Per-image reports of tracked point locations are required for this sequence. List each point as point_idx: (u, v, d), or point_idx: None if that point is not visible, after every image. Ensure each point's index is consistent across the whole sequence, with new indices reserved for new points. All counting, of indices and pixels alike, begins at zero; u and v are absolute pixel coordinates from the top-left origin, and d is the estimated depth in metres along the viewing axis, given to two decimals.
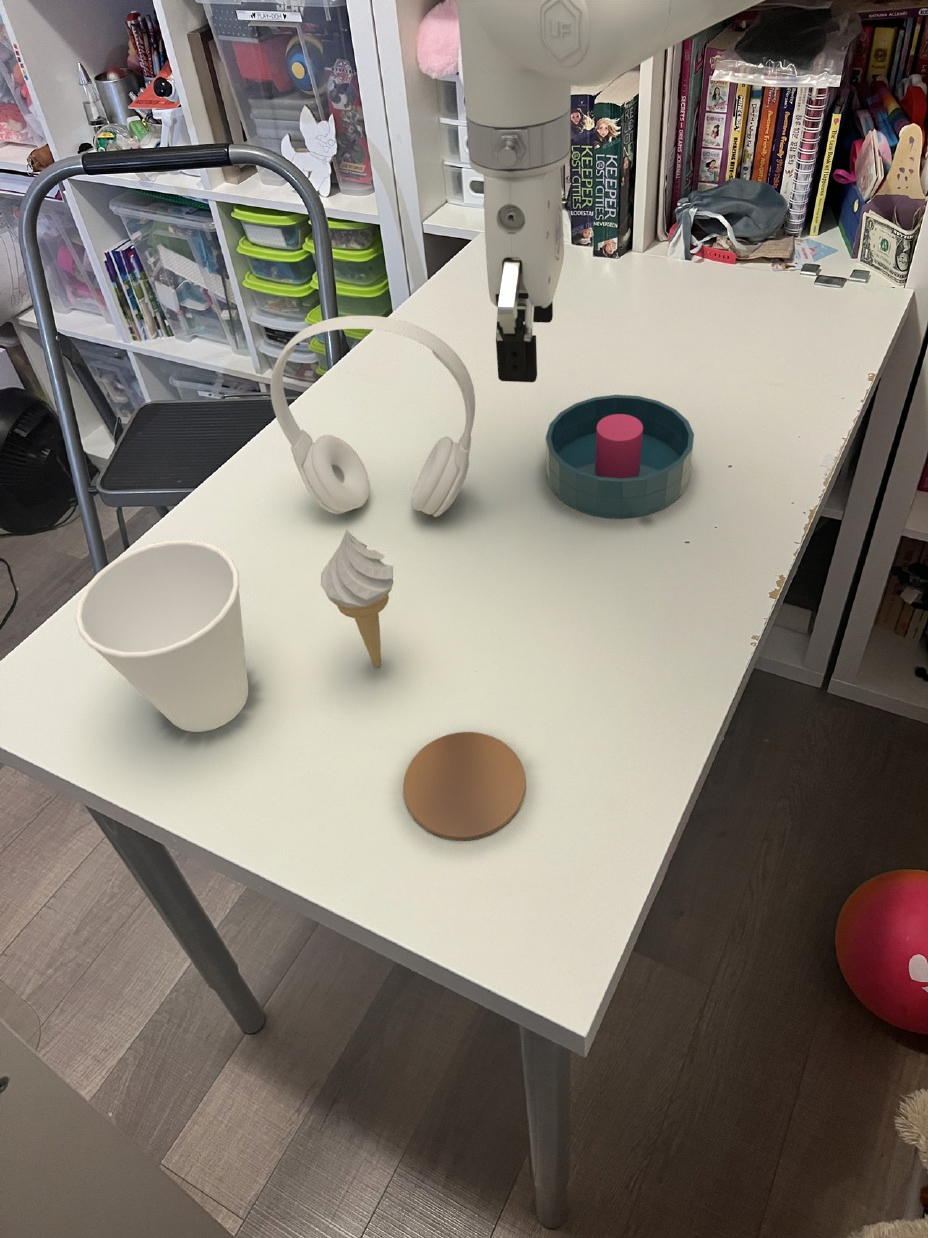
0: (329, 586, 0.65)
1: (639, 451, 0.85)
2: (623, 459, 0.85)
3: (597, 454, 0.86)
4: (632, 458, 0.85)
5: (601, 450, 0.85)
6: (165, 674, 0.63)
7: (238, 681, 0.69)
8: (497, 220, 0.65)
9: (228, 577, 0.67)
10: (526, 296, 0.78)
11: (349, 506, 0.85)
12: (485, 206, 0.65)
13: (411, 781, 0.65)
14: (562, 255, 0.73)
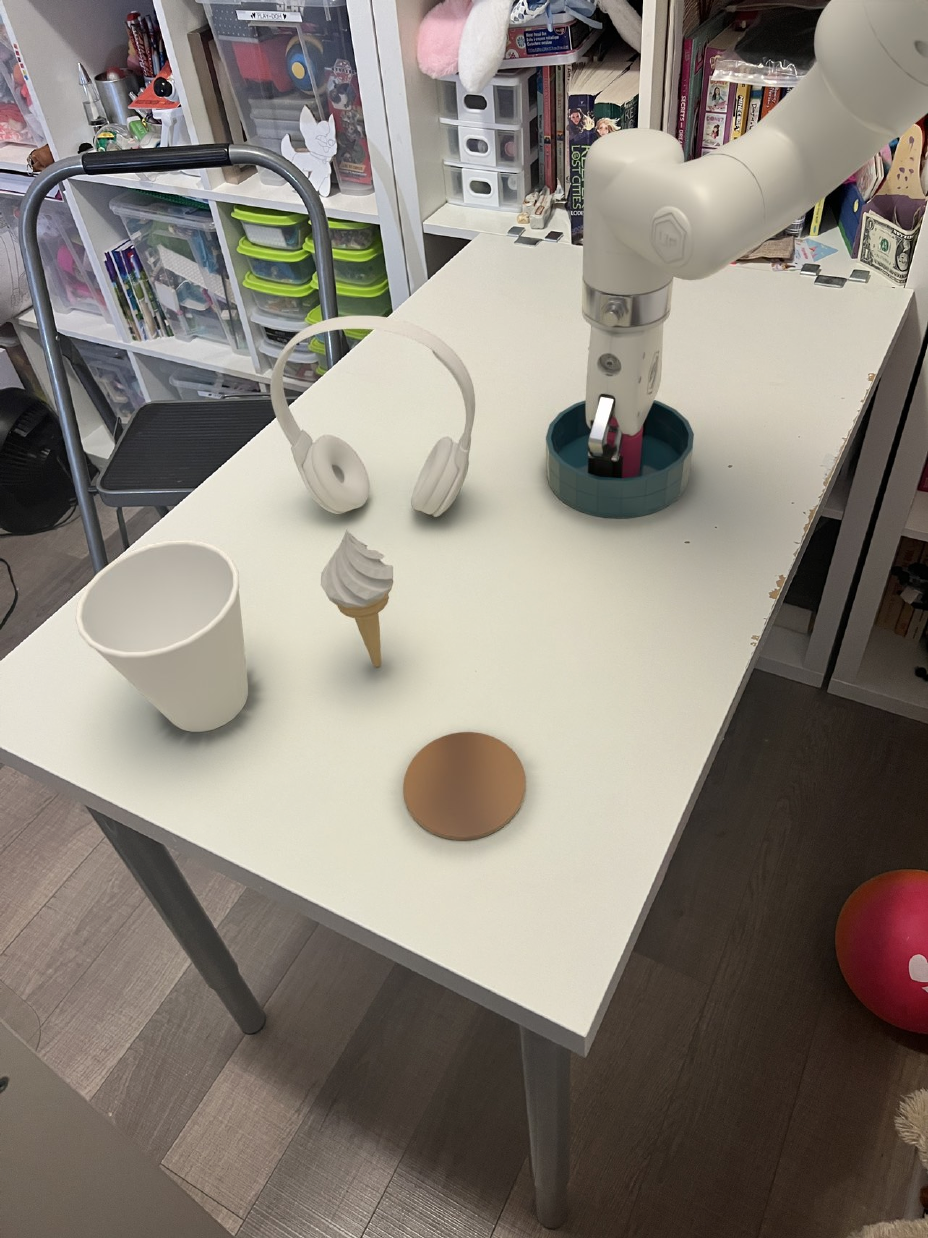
0: (329, 586, 0.65)
1: (639, 451, 0.85)
2: (623, 459, 0.85)
3: None
4: (632, 458, 0.85)
5: None
6: (165, 674, 0.63)
7: (238, 681, 0.69)
8: (598, 363, 0.76)
9: (228, 577, 0.67)
10: None
11: (349, 506, 0.85)
12: (589, 351, 0.75)
13: (411, 781, 0.65)
14: (658, 385, 0.83)
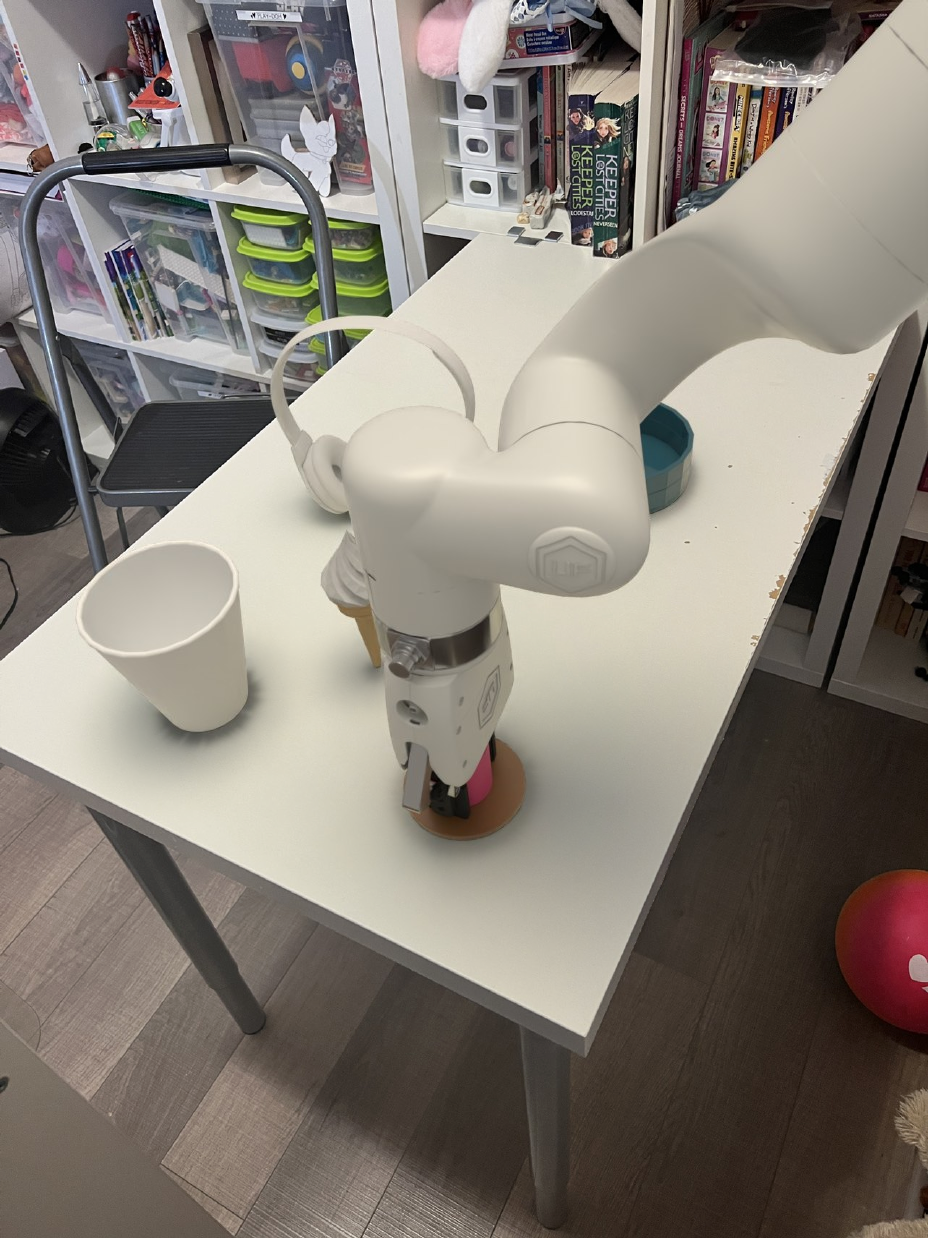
0: (329, 586, 0.65)
1: (485, 772, 0.62)
2: None
3: None
4: (474, 783, 0.62)
5: None
6: (165, 674, 0.63)
7: (238, 681, 0.69)
8: (398, 707, 0.52)
9: (228, 577, 0.67)
10: None
11: None
12: (385, 689, 0.52)
13: None
14: (507, 692, 0.60)
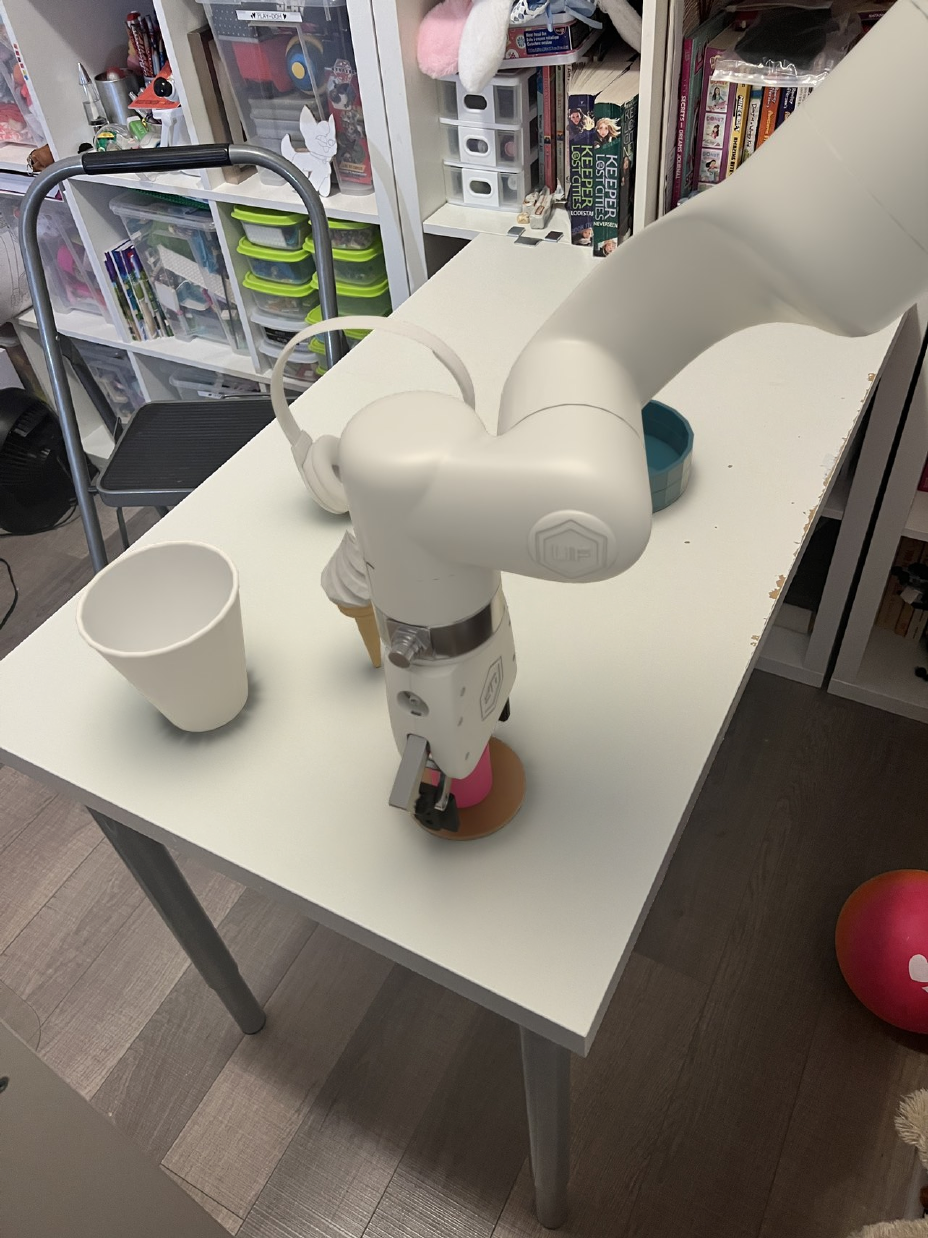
0: (329, 586, 0.65)
1: (485, 773, 0.62)
2: (462, 786, 0.61)
3: (430, 772, 0.63)
4: (474, 784, 0.62)
5: (432, 772, 0.62)
6: (165, 674, 0.63)
7: (238, 681, 0.69)
8: (399, 698, 0.51)
9: (228, 577, 0.67)
10: None
11: None
12: (385, 680, 0.51)
13: None
14: (510, 684, 0.59)
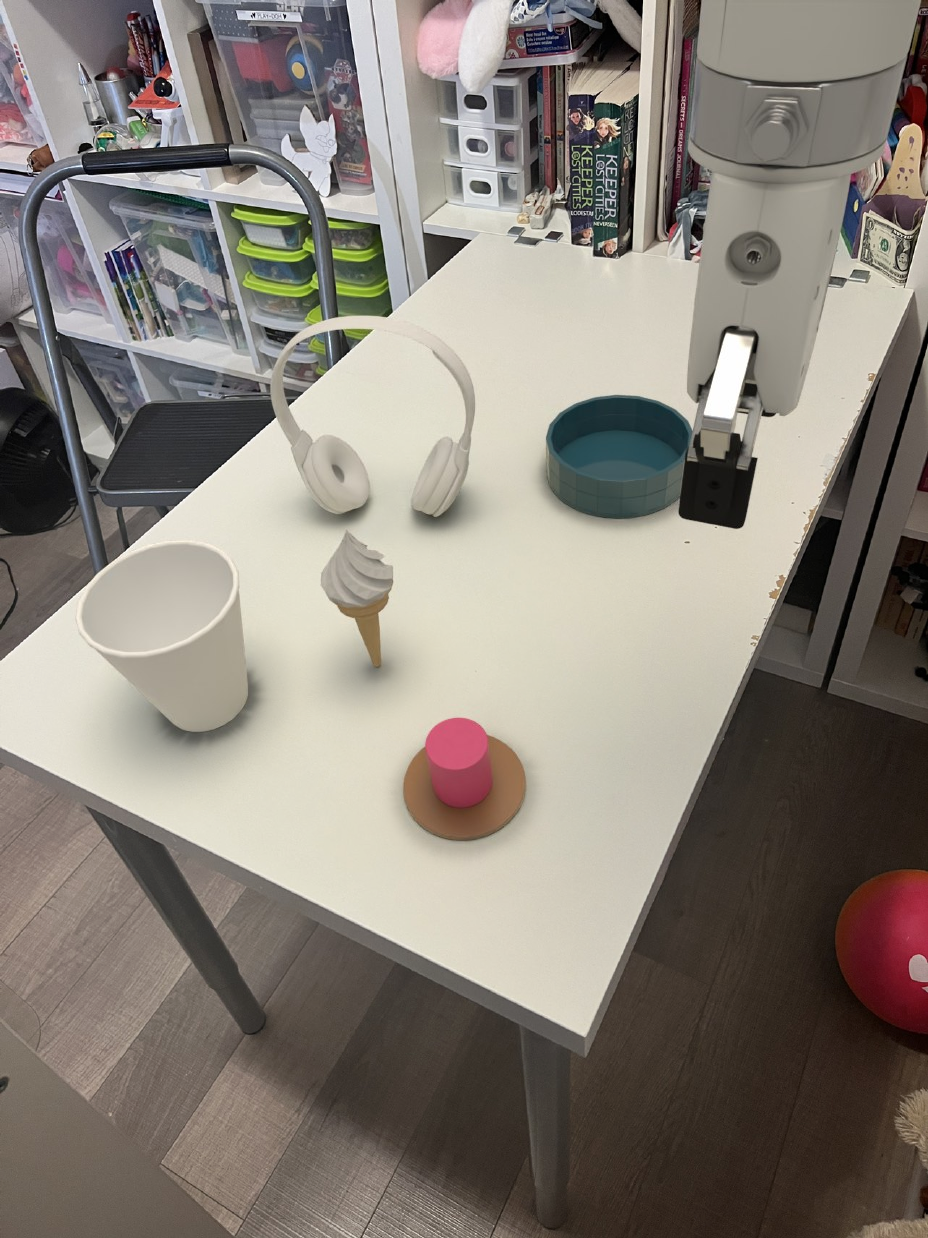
0: (329, 586, 0.65)
1: (485, 773, 0.62)
2: (462, 786, 0.61)
3: (430, 772, 0.63)
4: (474, 784, 0.62)
5: (432, 772, 0.62)
6: (165, 674, 0.63)
7: (238, 681, 0.69)
8: (726, 258, 0.35)
9: (228, 577, 0.67)
10: None
11: (349, 506, 0.85)
12: (707, 230, 0.35)
13: (411, 781, 0.65)
14: None
